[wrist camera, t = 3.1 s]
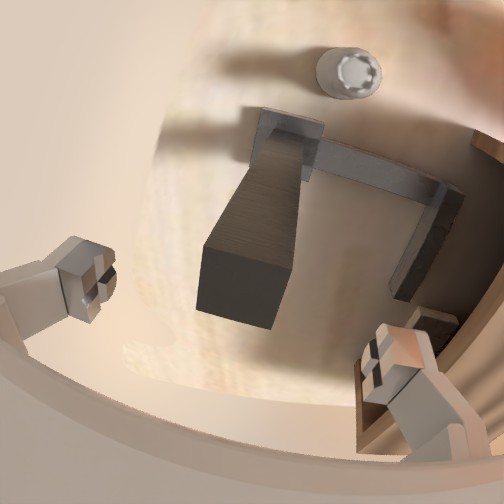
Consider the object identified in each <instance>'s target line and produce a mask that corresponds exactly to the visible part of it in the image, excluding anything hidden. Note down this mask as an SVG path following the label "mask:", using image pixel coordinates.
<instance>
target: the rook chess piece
mask: <svg viewBox="0 0 504 504" xmlns="http://www.w3.org/2000/svg"><path fill="white" fill-rule="evenodd" d="M315 72H316V79H317V81H318V83H319V85H320V87H321V88H322V90H324V91H325V92H326V93H327V94H328V95H330V96H331V97H334V98H337V99H340V100H351V99H356V98H365V97H368V96H370V95H372V94H373V93H374V92H375V91H376V90H377V89H378V88H379V86H380V82H381V79H382V74H381V67H380V65H379V63H378V62H377V60H376V58H375V57H373V56H372V55H371V54H370V53H369V52H368V51H365V50H363V49H360V48H333V49H331V50H329V51H327V52H325V53H324V54H323V55H322V56H321V57H320V58H319V59H318V62H317V65H316V69H315Z"/></svg>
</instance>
